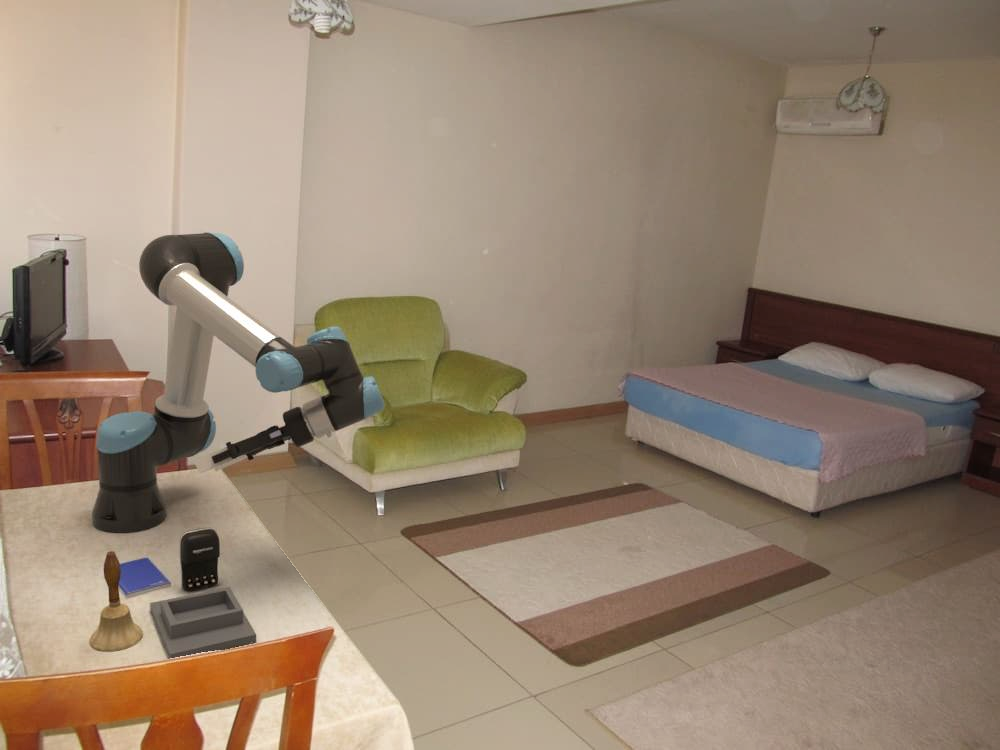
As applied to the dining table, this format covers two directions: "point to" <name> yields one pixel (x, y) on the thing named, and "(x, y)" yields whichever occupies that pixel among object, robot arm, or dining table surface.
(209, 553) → the battery charger
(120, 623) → the hand bell
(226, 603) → the dock
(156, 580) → the hard drive
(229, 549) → the dining table surface
